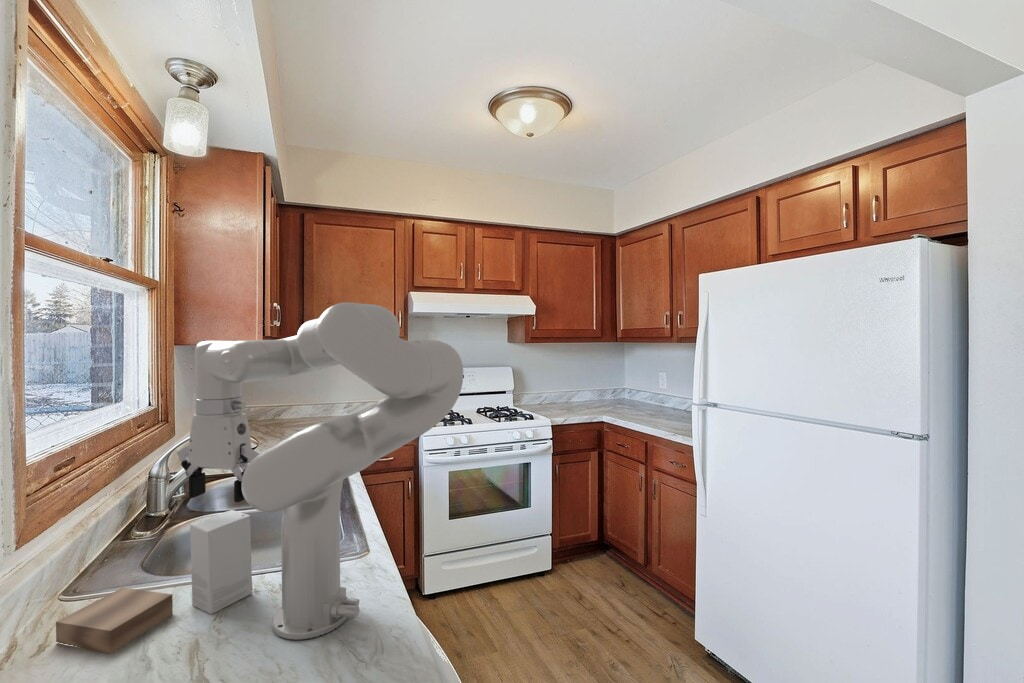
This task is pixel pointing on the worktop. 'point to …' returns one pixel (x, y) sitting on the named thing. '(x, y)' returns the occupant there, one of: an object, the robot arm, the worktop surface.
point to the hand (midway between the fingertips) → (219, 497)
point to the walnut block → (114, 619)
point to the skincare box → (220, 560)
